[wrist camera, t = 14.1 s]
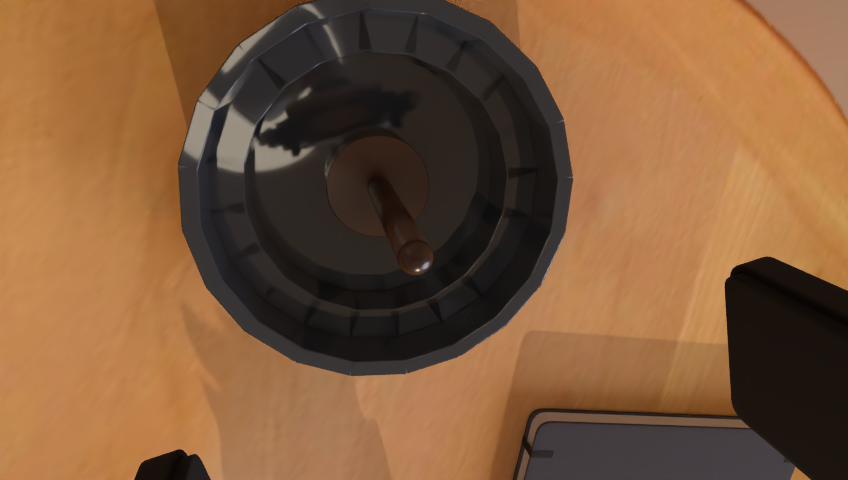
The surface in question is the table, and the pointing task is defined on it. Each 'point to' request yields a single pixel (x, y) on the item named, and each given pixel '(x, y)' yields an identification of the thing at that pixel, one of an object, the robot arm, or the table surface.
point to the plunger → (382, 194)
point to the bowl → (307, 197)
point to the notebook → (644, 448)
